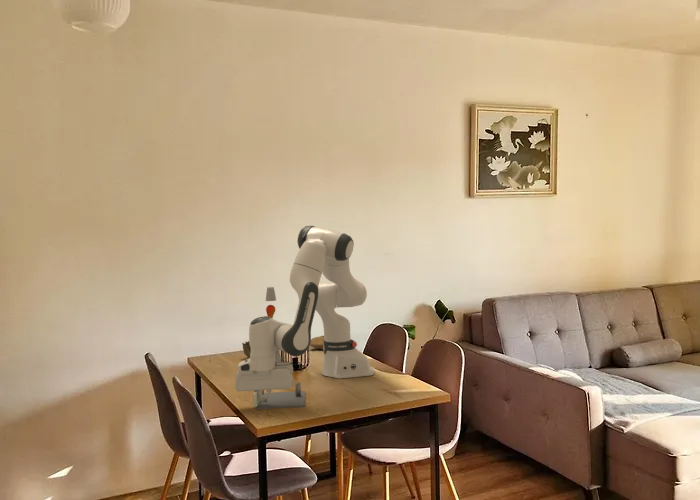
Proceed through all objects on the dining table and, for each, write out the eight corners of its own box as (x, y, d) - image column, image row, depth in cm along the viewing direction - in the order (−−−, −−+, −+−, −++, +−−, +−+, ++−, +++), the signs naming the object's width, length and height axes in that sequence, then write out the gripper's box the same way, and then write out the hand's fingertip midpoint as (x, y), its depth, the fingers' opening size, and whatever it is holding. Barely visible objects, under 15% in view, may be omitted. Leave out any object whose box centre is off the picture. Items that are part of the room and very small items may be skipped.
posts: (301, 396, 231) (300, 375, 230) (301, 398, 229) (300, 376, 228) (258, 398, 230) (258, 377, 229) (258, 400, 228) (257, 378, 227)
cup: (250, 356, 300) (250, 340, 300) (262, 358, 296) (261, 341, 295) (239, 359, 294) (239, 343, 294) (250, 361, 290) (250, 344, 289)
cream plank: (258, 397, 227) (258, 384, 227) (262, 397, 227) (261, 384, 227) (253, 406, 217) (253, 392, 216) (257, 406, 217) (256, 392, 216)
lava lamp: (274, 365, 281) (271, 288, 279) (259, 363, 285) (256, 287, 283) (286, 361, 288) (284, 286, 286) (271, 359, 293) (268, 285, 291)
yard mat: (304, 392, 236) (304, 391, 236) (304, 406, 218) (304, 405, 218) (259, 394, 235) (259, 393, 235) (255, 409, 217) (255, 407, 217)
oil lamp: (305, 349, 313) (304, 333, 313) (329, 345, 322) (329, 329, 322) (317, 353, 304) (317, 336, 304) (342, 348, 313) (341, 332, 313)
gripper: (293, 359, 222) (295, 397, 223) (235, 362, 222) (237, 400, 223) (292, 363, 216) (294, 402, 217) (233, 367, 215) (235, 406, 216)
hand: (265, 401), depth 220 cm, fingers closed
